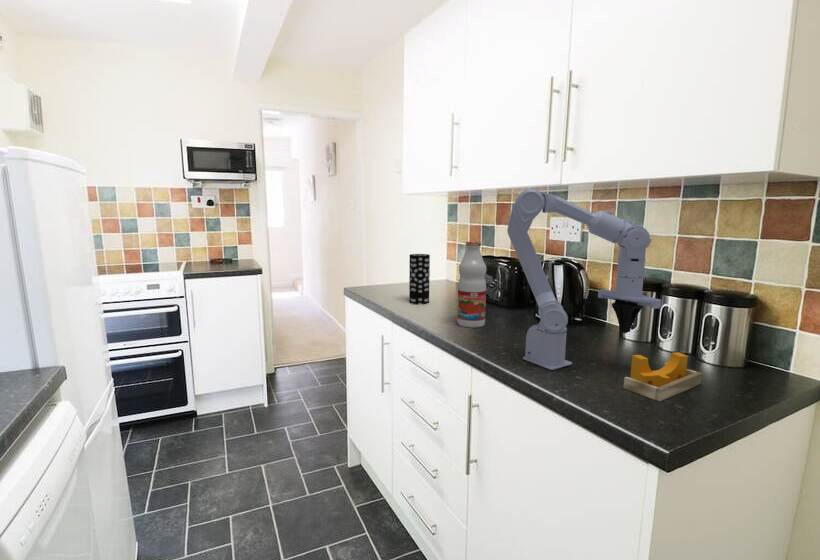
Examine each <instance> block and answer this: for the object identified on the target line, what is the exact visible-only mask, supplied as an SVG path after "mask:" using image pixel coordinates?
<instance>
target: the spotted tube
mask: <svg viewBox="0 0 820 560" xmlns="http://www.w3.org/2000/svg"><path fill="white" fill-rule="evenodd" d="M430 259H431V255H430V254H429V253H412V254H410V253H409V277H408V278H409V279H408V280H409V284H408V285H409V286H408V287H409V290H408V291H409V297H408V299H409V301H408V303H409V302H410V303H409V304H411V303H414V304H413V305H417V304H422V305H427V303H428V304H430V276H431V275H430V271H431V269H430V266H431V265H430V264H431V263H430V262H431V260H430Z"/></svg>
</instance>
